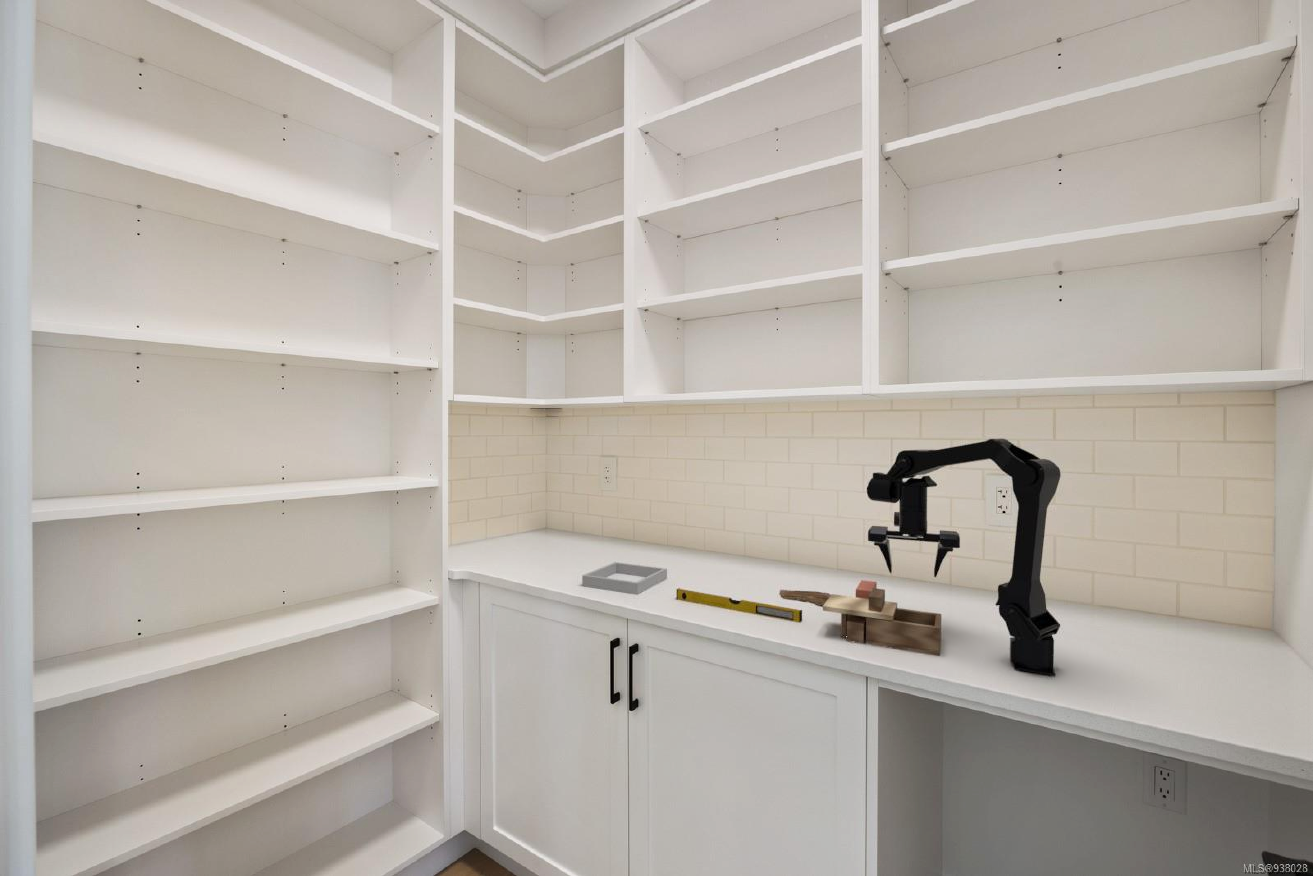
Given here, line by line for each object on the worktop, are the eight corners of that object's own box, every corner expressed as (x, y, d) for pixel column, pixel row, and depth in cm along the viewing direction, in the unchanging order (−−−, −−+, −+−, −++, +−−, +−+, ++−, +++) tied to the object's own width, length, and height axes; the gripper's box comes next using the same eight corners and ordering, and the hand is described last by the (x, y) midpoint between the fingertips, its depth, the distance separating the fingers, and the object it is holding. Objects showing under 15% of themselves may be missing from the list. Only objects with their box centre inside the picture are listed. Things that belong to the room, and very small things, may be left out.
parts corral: (666, 578, 176) (666, 568, 176) (637, 594, 160) (637, 583, 160) (615, 571, 184) (615, 562, 184) (582, 585, 168) (582, 575, 168)
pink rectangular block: (876, 596, 144) (876, 582, 143) (871, 606, 136) (871, 591, 135) (861, 594, 145) (861, 580, 145) (855, 604, 137) (855, 589, 137)
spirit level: (676, 600, 156) (676, 589, 156) (679, 599, 157) (679, 588, 157) (800, 624, 138) (800, 611, 138) (802, 622, 139) (802, 609, 139)
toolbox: (942, 624, 137) (942, 600, 137) (939, 656, 118) (939, 628, 118) (855, 611, 146) (855, 589, 145) (839, 639, 127) (840, 614, 127)
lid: (897, 607, 131) (897, 589, 131) (892, 620, 122) (892, 601, 122) (831, 598, 138) (831, 581, 137) (822, 610, 129) (822, 592, 129)
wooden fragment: (770, 597, 159) (770, 593, 159) (787, 588, 167) (787, 584, 167) (866, 617, 143) (866, 612, 143) (880, 606, 152) (881, 602, 152)
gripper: (958, 503, 136) (957, 570, 137) (872, 499, 144) (872, 562, 145) (960, 509, 126) (959, 582, 127) (867, 504, 134) (867, 573, 135)
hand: (912, 574), depth 133 cm, fingers open, 9 cm apart
